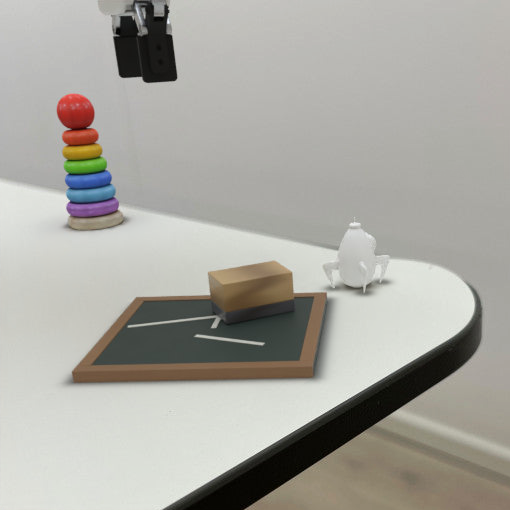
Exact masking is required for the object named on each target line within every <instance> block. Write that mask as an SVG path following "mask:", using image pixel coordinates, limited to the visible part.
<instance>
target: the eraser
mask: <svg viewBox="0 0 510 510" xmlns="http://www.w3.org/2000/svg"><path fill="white" fill-rule="evenodd" d="M293 276H294V275H293V271H291V270H290V269H288V268H287V267H285V266H284V265H282V264H281V263H279V262H278V261H277V260H269V261H264V262H258V263H252V264H246V265H240V266H236V267H235V266H234V267H229V268H222V269H217V270H212V271H207V278H208V279H207V280H208V286H209V295H210V297H211V306H212V311H213V312H214V313H215V314H216V315H217V316H218V317H219V318H221V319H222V320H223V321H224V322H225V323H226V324H232V323H237V322H242V321H247V320H252V319H257V318H262V317H267V316H272V315H276V314H281V313H286V312H291V311H295V305H294V293H295V292H294V291H295V290H294V278H293Z"/></svg>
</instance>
